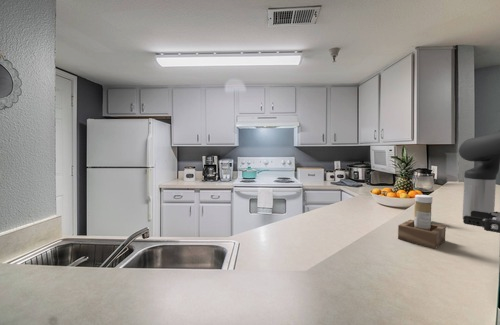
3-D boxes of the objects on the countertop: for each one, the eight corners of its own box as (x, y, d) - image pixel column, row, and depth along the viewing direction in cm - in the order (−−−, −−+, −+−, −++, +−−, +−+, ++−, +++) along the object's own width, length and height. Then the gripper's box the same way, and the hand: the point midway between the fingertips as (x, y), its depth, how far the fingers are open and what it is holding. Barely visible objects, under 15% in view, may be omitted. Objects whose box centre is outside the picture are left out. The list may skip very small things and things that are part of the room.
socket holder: (409, 232, 86) (410, 219, 85) (445, 240, 78) (445, 226, 78) (397, 238, 80) (398, 225, 79) (435, 248, 72) (435, 233, 71)
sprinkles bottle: (416, 233, 82) (417, 193, 81) (432, 237, 78) (434, 195, 77) (411, 236, 79) (412, 195, 78) (428, 240, 75) (430, 197, 74)
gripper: (560, 210, 61) (473, 200, 74) (560, 221, 52) (461, 207, 65) (558, 240, 61) (472, 224, 74) (557, 255, 52) (460, 235, 65)
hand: (467, 216), depth 69 cm, fingers open, 8 cm apart
